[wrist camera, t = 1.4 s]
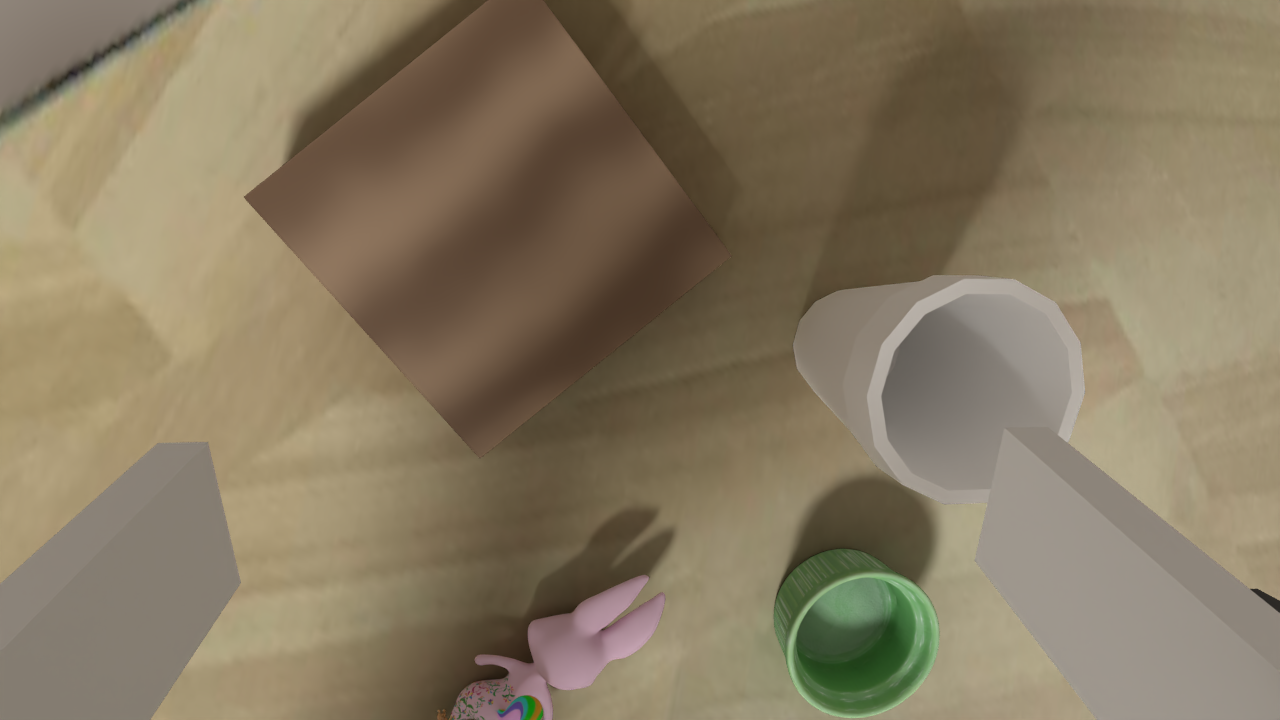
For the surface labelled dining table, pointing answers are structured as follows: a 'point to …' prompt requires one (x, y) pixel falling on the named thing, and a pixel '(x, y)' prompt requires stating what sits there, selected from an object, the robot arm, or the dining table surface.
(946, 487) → the foam cup
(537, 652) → the rabbit figure
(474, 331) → the walnut base
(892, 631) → the ramekin
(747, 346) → the dining table surface
